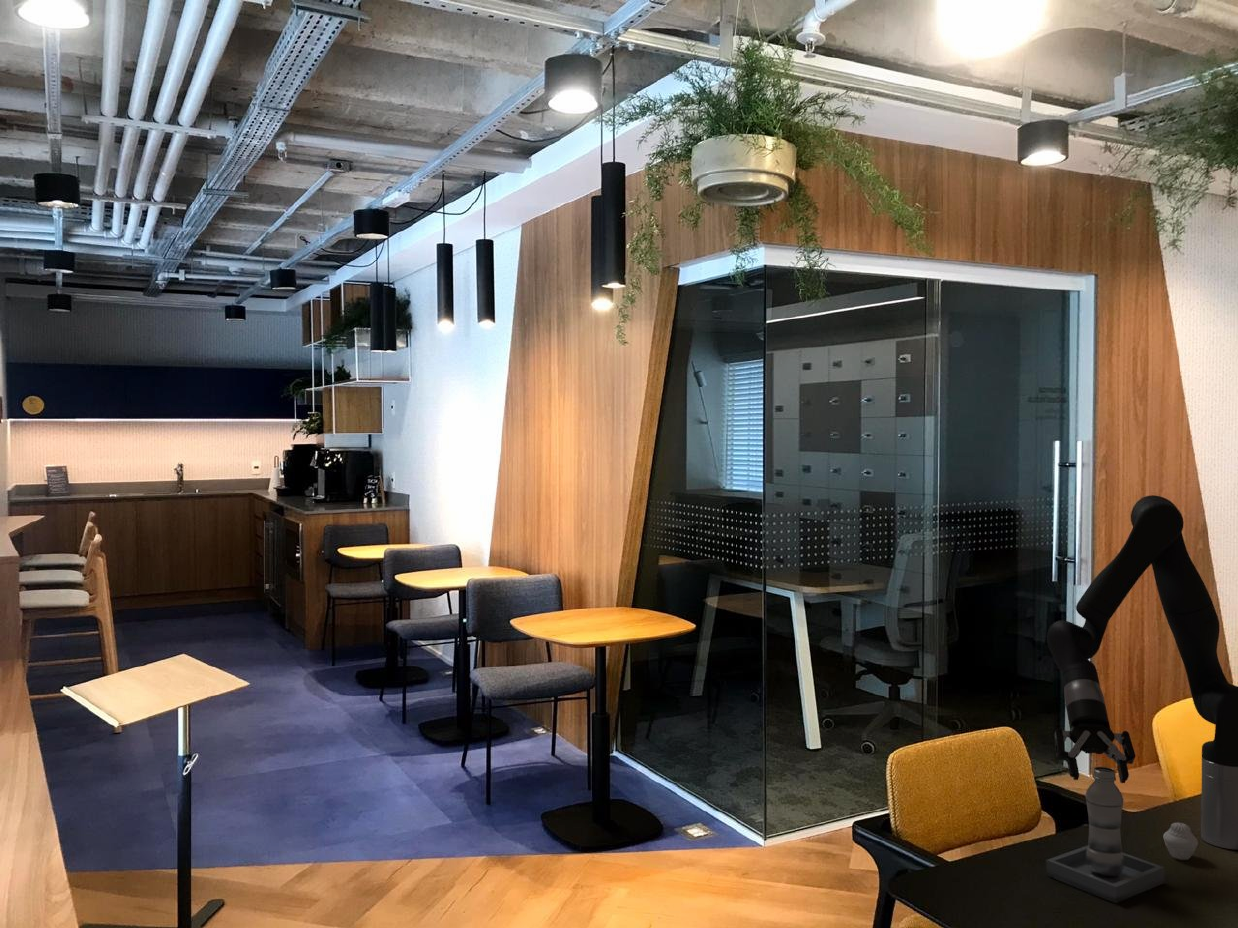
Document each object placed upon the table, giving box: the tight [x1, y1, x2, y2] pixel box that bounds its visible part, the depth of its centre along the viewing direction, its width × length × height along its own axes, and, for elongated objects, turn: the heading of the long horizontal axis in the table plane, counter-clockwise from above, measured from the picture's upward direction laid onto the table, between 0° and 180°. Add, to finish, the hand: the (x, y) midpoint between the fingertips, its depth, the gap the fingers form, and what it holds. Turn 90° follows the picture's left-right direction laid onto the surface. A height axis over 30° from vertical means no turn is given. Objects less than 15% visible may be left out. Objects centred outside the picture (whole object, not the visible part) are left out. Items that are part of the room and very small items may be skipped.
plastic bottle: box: [1085, 766, 1124, 876], centre depth 189 cm, size 6×7×20 cm
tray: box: [1045, 844, 1165, 904], centre depth 189 cm, size 16×14×3 cm
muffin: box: [1162, 822, 1199, 861], centre depth 200 cm, size 6×6×7 cm
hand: (1100, 779), depth 193 cm, fingers open, 8 cm apart
